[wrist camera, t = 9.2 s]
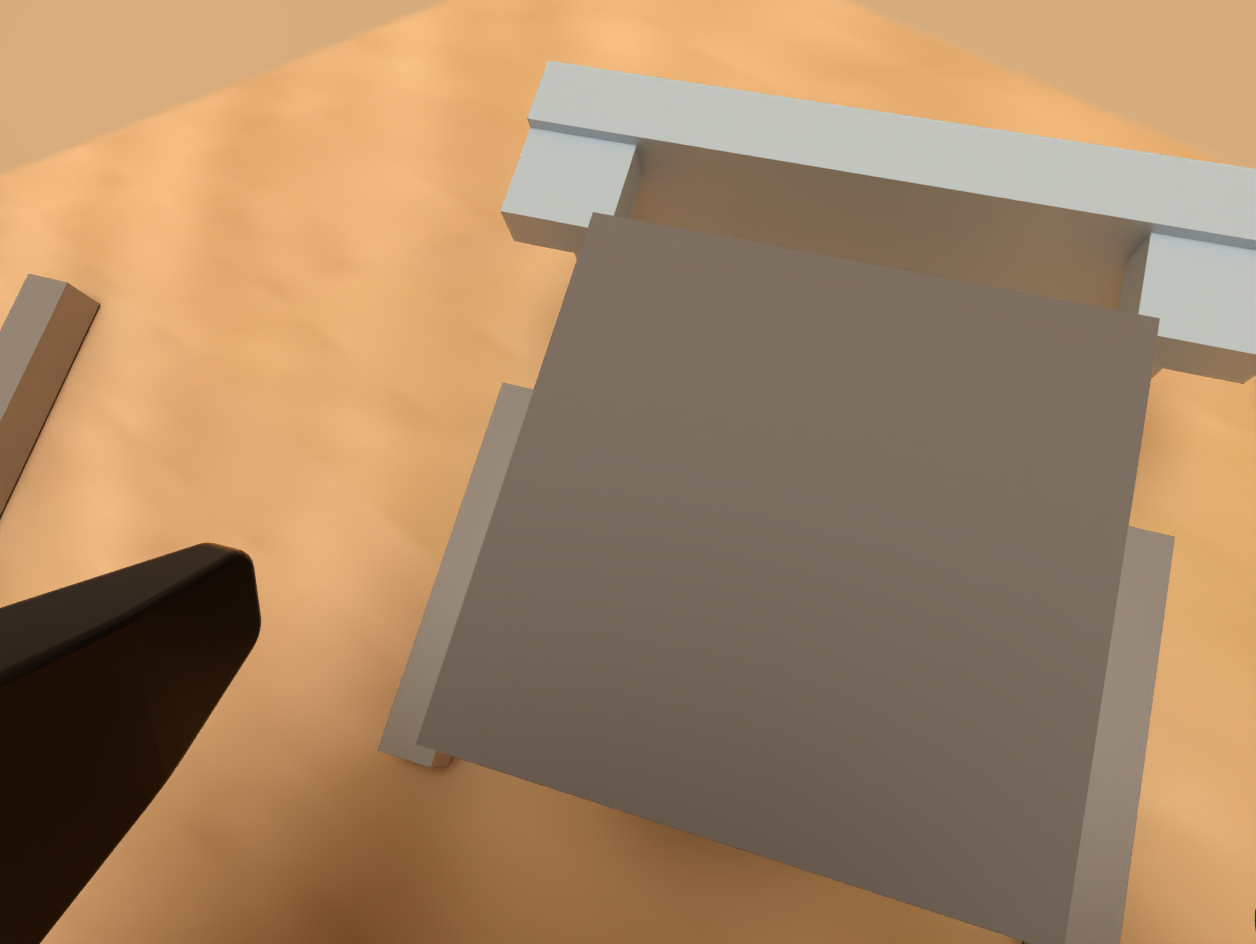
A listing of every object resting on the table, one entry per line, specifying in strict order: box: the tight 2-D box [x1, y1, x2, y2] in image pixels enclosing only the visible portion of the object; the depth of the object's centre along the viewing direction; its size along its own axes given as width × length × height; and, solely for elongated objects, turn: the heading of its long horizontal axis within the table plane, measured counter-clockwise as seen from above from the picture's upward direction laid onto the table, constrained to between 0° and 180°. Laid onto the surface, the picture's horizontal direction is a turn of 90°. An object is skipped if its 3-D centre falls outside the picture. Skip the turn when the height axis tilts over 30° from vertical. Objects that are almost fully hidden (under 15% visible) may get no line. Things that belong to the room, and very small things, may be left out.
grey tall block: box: [416, 212, 1160, 944], centre depth 11 cm, size 4×4×10 cm
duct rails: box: [0, 61, 1256, 944], centre depth 15 cm, size 10×23×6 cm, turn 74°
